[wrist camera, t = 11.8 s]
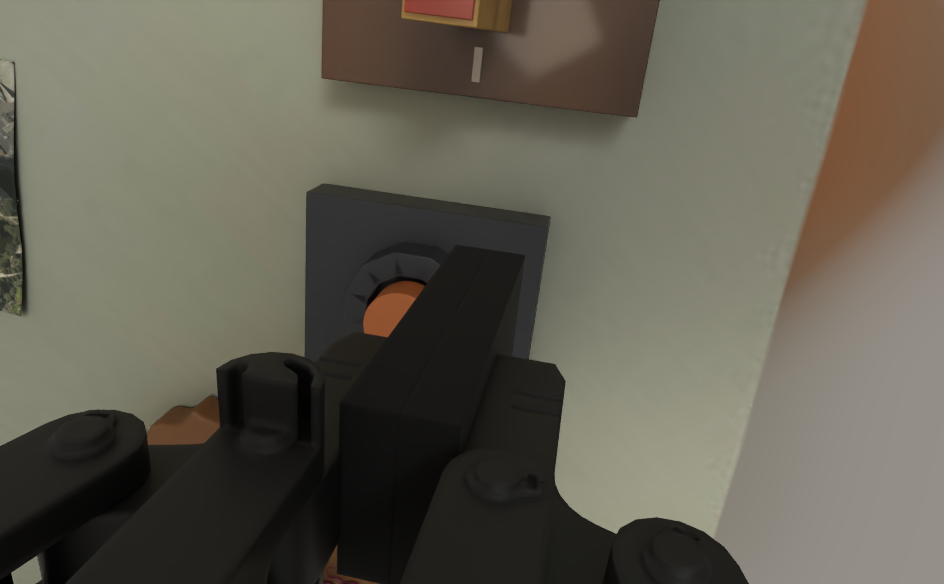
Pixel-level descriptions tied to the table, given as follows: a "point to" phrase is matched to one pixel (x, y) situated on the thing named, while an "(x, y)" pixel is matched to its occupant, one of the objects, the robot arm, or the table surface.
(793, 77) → the table surface
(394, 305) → the bell button
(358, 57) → the plate
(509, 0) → the tan rectangular block
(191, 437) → the plant
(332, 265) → the doorbell
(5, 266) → the eiffel tower figurine
